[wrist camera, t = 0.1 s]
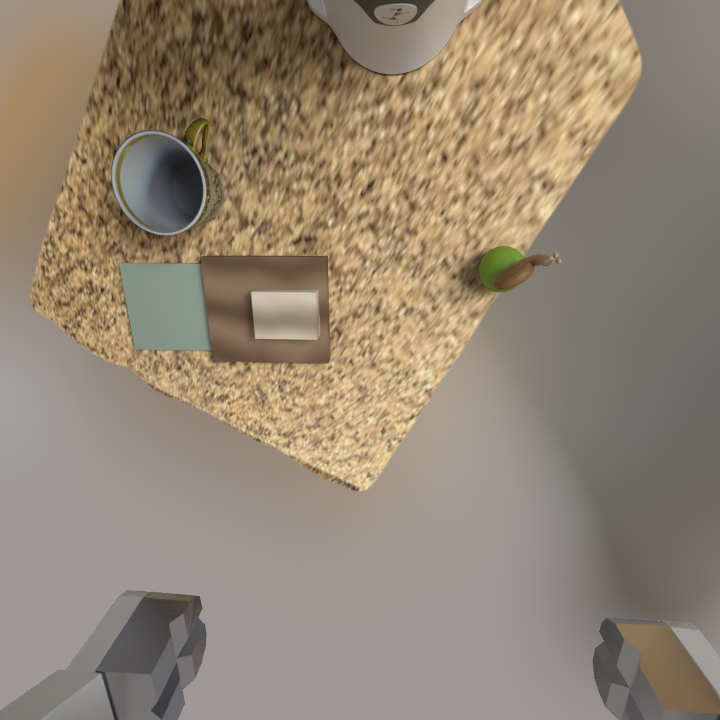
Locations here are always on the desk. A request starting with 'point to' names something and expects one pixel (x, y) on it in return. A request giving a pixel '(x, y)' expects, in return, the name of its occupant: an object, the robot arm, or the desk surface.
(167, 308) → the rubber mat
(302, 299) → the ash tile
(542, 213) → the desk surface
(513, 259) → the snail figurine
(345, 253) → the desk surface
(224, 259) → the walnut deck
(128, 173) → the ceramic cup
